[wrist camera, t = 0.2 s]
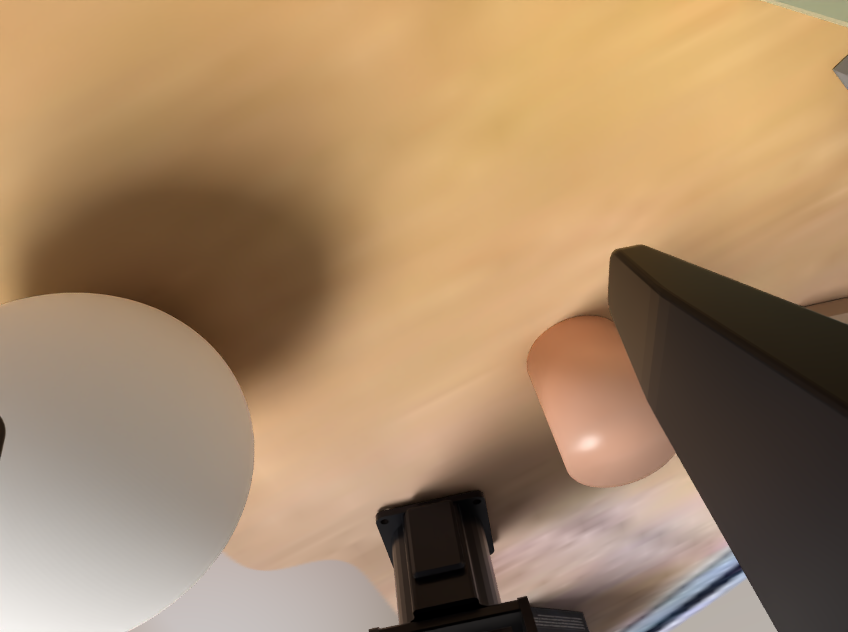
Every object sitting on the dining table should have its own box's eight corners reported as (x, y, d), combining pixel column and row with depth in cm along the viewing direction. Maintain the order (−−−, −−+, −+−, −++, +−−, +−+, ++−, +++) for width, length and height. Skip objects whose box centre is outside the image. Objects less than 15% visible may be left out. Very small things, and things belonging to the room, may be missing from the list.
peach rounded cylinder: (623, 380, 31) (677, 473, 26) (529, 401, 31) (566, 497, 26) (627, 305, 28) (688, 395, 23) (523, 328, 28) (563, 422, 23)
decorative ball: (-112, 299, 23) (-424, 604, 13) (162, 183, 21) (30, 430, 12) (97, 473, 30) (-10, 752, 21) (312, 394, 29) (304, 654, 19)
